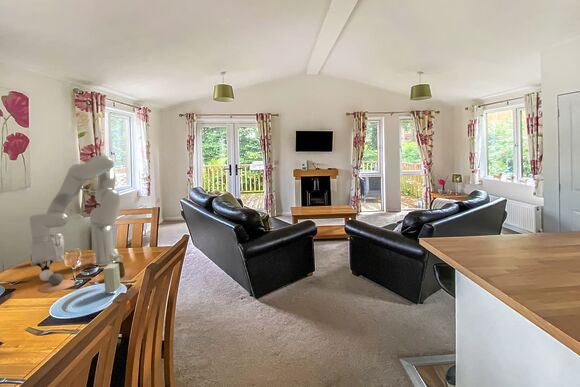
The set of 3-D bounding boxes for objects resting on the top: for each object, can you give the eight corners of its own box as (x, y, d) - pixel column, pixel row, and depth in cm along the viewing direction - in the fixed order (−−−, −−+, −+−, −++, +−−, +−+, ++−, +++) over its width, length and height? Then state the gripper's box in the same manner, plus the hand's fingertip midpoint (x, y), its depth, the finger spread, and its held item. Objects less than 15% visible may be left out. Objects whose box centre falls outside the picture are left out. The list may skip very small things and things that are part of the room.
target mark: (79, 278, 167) (79, 278, 167) (69, 290, 154) (69, 289, 154) (47, 282, 163) (46, 281, 163) (33, 294, 150) (33, 293, 150)
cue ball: (54, 267, 167) (57, 277, 167) (46, 269, 168) (49, 279, 168) (43, 270, 161) (46, 281, 161) (35, 272, 163) (38, 283, 163)
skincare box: (111, 289, 154) (109, 263, 152) (121, 288, 154) (119, 263, 153) (105, 295, 148) (102, 268, 146) (115, 294, 148) (113, 268, 146)
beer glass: (58, 262, 193) (55, 236, 190) (48, 261, 194) (45, 236, 192) (68, 258, 199) (66, 233, 197) (58, 257, 201) (56, 233, 199)
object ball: (62, 274, 164) (66, 276, 161) (56, 285, 162) (60, 288, 159) (51, 270, 160) (55, 273, 157) (44, 281, 158) (48, 284, 155)
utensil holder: (122, 278, 166) (120, 255, 164) (109, 279, 165) (106, 255, 164) (127, 274, 172) (125, 251, 170) (114, 274, 171) (112, 252, 170)
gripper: (56, 234, 175) (60, 268, 178) (20, 241, 164) (25, 277, 166) (61, 237, 170) (65, 271, 173) (25, 243, 159) (29, 281, 161)
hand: (46, 274), depth 169 cm, fingers closed
